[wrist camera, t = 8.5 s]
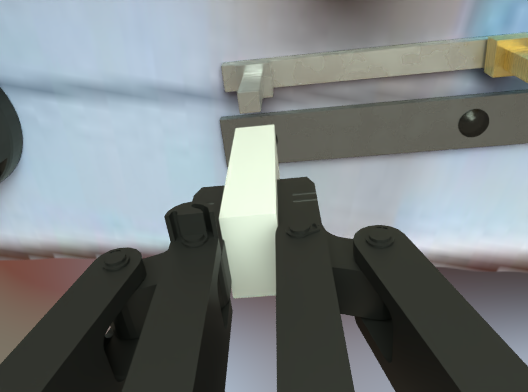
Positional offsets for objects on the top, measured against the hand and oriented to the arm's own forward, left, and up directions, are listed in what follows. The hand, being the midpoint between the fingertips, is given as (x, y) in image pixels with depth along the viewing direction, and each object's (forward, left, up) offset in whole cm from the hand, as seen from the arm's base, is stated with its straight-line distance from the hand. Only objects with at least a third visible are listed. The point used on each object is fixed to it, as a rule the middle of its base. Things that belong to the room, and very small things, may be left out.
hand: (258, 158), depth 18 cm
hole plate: (+9, -9, -27) cm, 30 cm away
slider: (+19, -3, -25) cm, 32 cm away
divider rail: (+9, -3, -27) cm, 28 cm away
